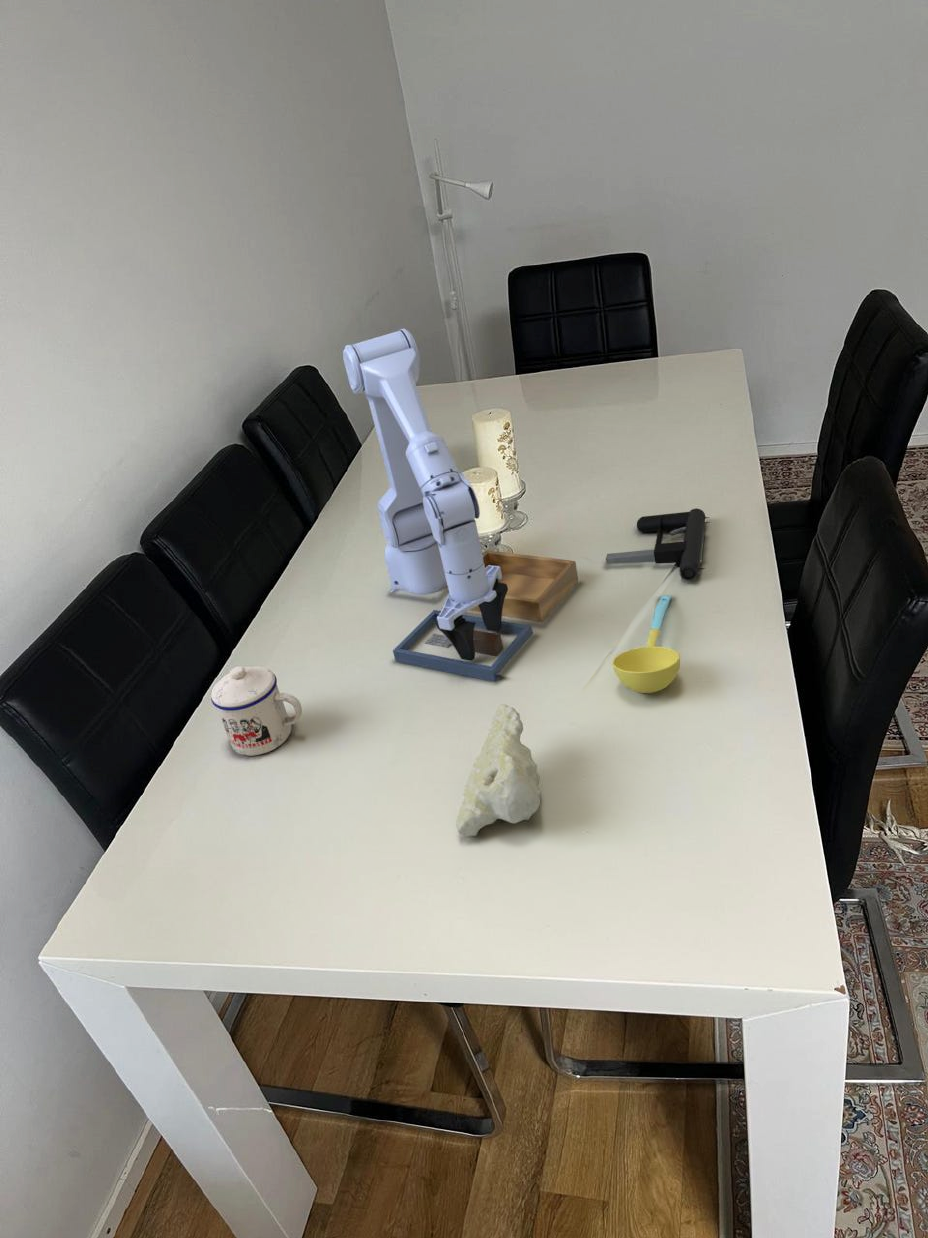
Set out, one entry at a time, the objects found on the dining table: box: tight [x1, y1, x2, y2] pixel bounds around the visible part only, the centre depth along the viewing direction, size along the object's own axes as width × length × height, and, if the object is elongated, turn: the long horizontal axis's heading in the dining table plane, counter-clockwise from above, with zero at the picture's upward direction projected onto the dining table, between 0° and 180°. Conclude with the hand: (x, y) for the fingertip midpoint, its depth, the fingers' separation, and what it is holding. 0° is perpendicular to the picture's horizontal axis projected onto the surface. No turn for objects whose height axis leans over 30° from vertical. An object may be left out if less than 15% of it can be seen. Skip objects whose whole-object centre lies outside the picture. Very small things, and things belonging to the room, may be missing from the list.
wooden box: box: [446, 550, 579, 624], centre depth 155 cm, size 17×13×4 cm
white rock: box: [455, 703, 541, 838], centre depth 116 cm, size 15×7×15 cm
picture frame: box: [392, 609, 534, 683], centre depth 146 cm, size 18×12×2 cm, turn 59°
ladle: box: [612, 595, 681, 694], centre depth 137 cm, size 9×26×6 cm, turn 165°
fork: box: [424, 629, 504, 657], centre depth 146 cm, size 13×2×3 cm, turn 59°
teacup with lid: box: [210, 665, 303, 756], centre depth 134 cm, size 12×9×12 cm
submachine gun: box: [605, 507, 712, 582], centre depth 159 cm, size 3×20×16 cm
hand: (481, 644), depth 144 cm, fingers open, 7 cm apart
